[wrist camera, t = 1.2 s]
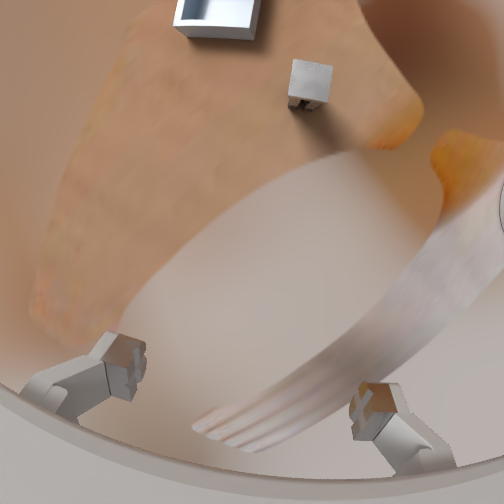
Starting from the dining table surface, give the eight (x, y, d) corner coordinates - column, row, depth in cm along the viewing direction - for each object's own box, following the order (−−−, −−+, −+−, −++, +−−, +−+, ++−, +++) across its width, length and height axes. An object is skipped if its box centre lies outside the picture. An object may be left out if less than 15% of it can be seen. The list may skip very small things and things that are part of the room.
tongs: (315, 88, 33) (333, 66, 20) (312, 112, 34) (327, 102, 21) (291, 84, 33) (293, 58, 20) (287, 107, 34) (287, 94, 21)
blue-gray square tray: (264, -15, 28) (260, -33, 23) (254, 40, 31) (249, 27, 26) (198, -17, 28) (186, -33, 23) (186, 37, 31) (172, 26, 27)
